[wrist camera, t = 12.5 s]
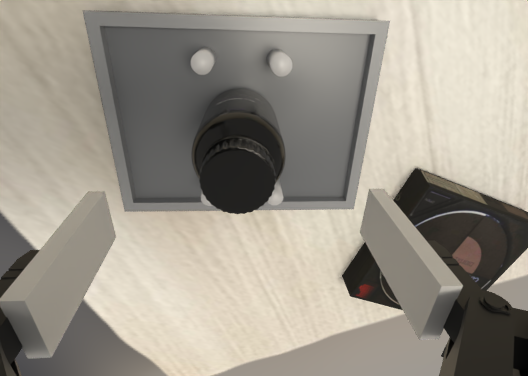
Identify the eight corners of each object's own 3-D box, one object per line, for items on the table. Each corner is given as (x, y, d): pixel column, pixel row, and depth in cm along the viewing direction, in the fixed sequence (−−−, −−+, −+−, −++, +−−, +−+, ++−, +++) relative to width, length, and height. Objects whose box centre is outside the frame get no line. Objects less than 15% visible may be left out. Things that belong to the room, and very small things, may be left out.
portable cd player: (521, 207, 40) (549, 225, 36) (438, 300, 47) (454, 323, 43) (414, 164, 36) (433, 180, 32) (341, 273, 43) (350, 296, 39)
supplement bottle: (243, 69, 28) (245, 103, 17) (290, 127, 31) (316, 186, 20) (187, 119, 30) (158, 177, 19) (236, 170, 32) (234, 244, 22)
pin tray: (132, 199, 35) (114, 228, 30) (95, 11, 26) (63, 9, 21) (346, 197, 37) (363, 225, 32) (378, 20, 28) (406, 21, 23)
